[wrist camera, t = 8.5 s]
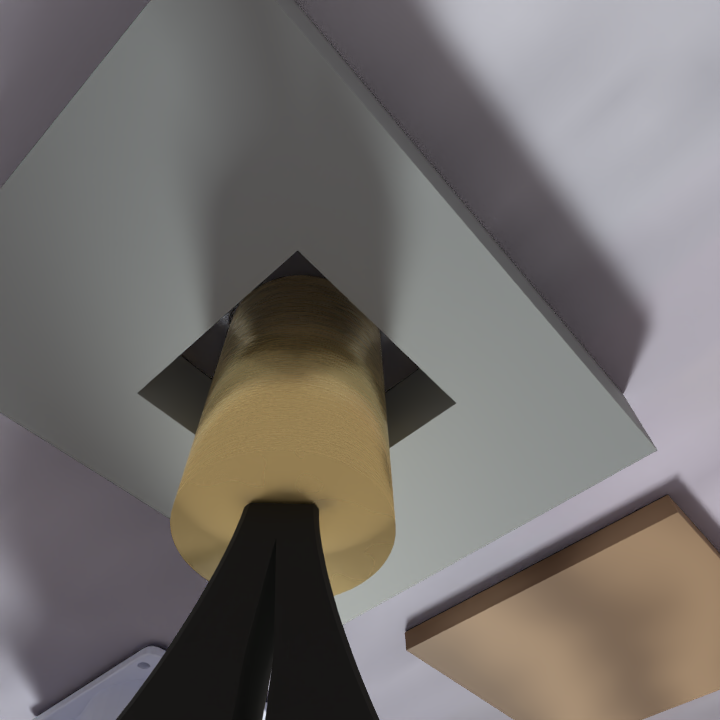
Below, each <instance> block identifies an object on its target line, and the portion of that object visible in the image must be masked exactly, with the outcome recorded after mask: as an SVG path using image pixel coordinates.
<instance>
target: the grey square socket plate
mask: <svg viewBox="0 0 720 720" xmlns="http://www.w3.org/2000/svg"><path fill="white" fill-rule="evenodd" d="M297 250H298V251H299V252H300V253H301V254H302V255H303V256H304V257H305V258H306V259H307V260H308V261H309V262H310V263H311V264H312V265H313V266H314V267H315V268H317V269H318V270H319V271H320V272H321V273H322V274H323V275H324V276H325V277H326V278H327V279H328V280H329V281H330V282H331V283H332V284H333V285H334V286H335V287H336V288H337V289H338V290H339V291H340V292H341V293H342V294H344V295H345V296H346V297H347V298H348V299H349V300H350V301H351V302H352V303H353V304H354V305H355V306H356V307H357V308H358V309H359V310H360V311H361V312H362V313H363V314H364V315H365V316H366V317H367V318H368V319H369V320H371V321H372V322H373V323H374V324H375V325H376V326H377V327H378V328H379V329H380V330H381V331H382V332H383V333H384V334H385V335H386V336H387V337H388V338H389V339H390V340H391V341H392V342H393V343H394V344H395V345H396V346H398V347H399V348H400V349H401V350H402V351H403V352H404V353H405V354H406V355H407V356H408V357H409V358H410V359H411V360H412V361H413V362H414V363H415V364H416V365H417V366H418V367H419V368H420V369H418V370H417V371H416V372H414V373H413V374H411V375H410V376H409V377H407V378H406V379H404V380H403V381H402V382H400V383H399V384H397V385H396V386H395V387H393V388H392V389H391V390H389V391H388V392H386V393H385V400H386V413H387V425H388V437H389V450H390V462H391V474H392V487H393V499H394V511H395V524H396V536H395V541H394V545H393V548H392V551H391V553H390V555H389V557H388V558H387V560H386V562H385V563H384V564H383V565H382V567H381V568H380V569H379V570H378V571H377V572H376V573H375V574H374V575H373V576H371V577H370V578H369V579H368V580H366V581H365V582H363V583H362V584H360V585H358V586H356V587H354V588H353V589H351V590H348V591H346V592H343V593H341V594H338V595H335V596H334V598H335V602H336V606H337V609H338V612H339V616H340V619H341V622H342V625H344V624H345V623H347V622H349V621H351V620H353V619H354V618H356V617H358V616H360V615H362V614H363V613H365V612H367V611H369V610H371V609H372V608H374V607H376V606H378V605H380V604H381V603H383V602H385V601H387V600H389V599H390V598H392V597H394V596H396V595H398V594H399V593H401V592H403V591H405V590H407V589H408V588H410V587H412V586H414V585H416V584H417V583H419V582H421V581H423V580H425V579H426V578H428V577H430V576H432V575H434V574H435V573H437V572H439V571H441V570H443V569H444V568H446V567H448V566H450V565H452V564H453V563H455V562H457V561H459V560H461V559H462V558H464V557H466V556H468V555H470V554H471V553H473V552H475V551H477V550H479V549H480V548H482V547H484V546H486V545H488V544H489V543H491V542H493V541H495V540H497V539H498V538H500V537H502V536H504V535H506V534H507V533H509V532H511V531H513V530H515V529H516V528H518V527H520V526H522V525H524V524H525V523H527V522H529V521H531V520H533V519H534V518H536V517H538V516H540V515H542V514H543V513H545V512H547V511H549V510H551V509H552V508H554V507H556V506H558V505H560V504H561V503H563V502H565V501H567V500H569V499H570V498H572V497H574V496H576V495H578V494H579V493H581V492H583V491H585V490H587V489H588V488H590V487H592V486H594V485H596V484H597V483H599V482H601V481H603V480H605V479H606V478H608V477H610V476H612V475H614V474H615V473H617V472H619V471H621V470H623V469H624V468H626V467H628V466H630V465H632V464H633V463H635V462H637V461H639V460H641V459H642V458H644V457H646V456H648V455H650V454H651V453H653V452H655V451H657V449H656V447H655V446H654V444H653V442H652V441H651V439H650V437H649V436H648V434H647V433H646V431H645V429H644V428H643V426H642V424H641V423H640V421H639V420H638V418H637V416H636V415H635V413H634V411H633V410H632V408H631V407H630V405H629V403H628V402H627V400H626V398H625V397H624V395H623V394H622V393H621V392H620V391H619V389H618V388H617V387H616V386H615V385H614V383H613V382H612V381H611V380H610V379H609V377H608V376H607V375H606V374H605V373H604V371H603V370H602V369H601V368H600V367H599V365H598V364H597V363H596V362H595V361H594V359H593V358H592V357H591V356H590V355H589V353H588V352H587V351H586V350H585V349H584V347H583V346H582V345H581V344H580V343H579V341H578V340H577V339H576V338H575V337H574V335H573V334H572V333H571V332H570V331H569V329H568V328H567V327H566V326H565V325H564V323H563V322H562V321H561V320H560V319H559V317H558V316H557V315H556V314H555V313H554V311H553V310H552V309H551V308H550V307H549V305H548V304H547V303H546V302H545V301H544V299H543V298H542V297H541V296H540V295H539V293H538V292H537V291H536V290H535V289H534V287H533V286H532V285H531V284H530V283H529V281H528V280H527V279H526V278H525V277H524V275H523V274H522V273H521V272H520V271H519V269H518V268H517V267H516V266H515V265H514V263H513V262H512V261H511V260H510V259H509V257H508V256H507V255H506V254H505V253H504V251H503V250H502V249H501V248H500V247H499V245H498V244H497V243H496V242H495V241H494V239H493V238H492V237H491V236H490V235H489V233H488V232H487V231H486V230H485V229H484V227H483V226H482V225H481V224H480V223H479V221H478V220H477V219H476V218H475V217H474V215H473V214H472V213H471V212H470V211H469V209H468V208H467V207H466V206H465V205H464V203H463V202H462V201H461V200H460V199H459V197H458V196H457V195H456V194H455V193H454V191H453V190H452V189H451V188H450V187H449V185H448V184H447V183H446V182H445V181H444V180H443V178H442V177H441V176H440V175H439V174H438V172H437V171H436V170H435V169H434V168H433V166H432V165H431V164H430V163H429V162H428V160H427V159H426V158H425V157H424V156H423V154H422V153H421V152H420V151H419V150H418V148H417V147H416V146H415V145H414V144H413V142H412V141H411V140H410V139H409V138H408V136H407V135H406V134H405V133H404V132H403V130H402V129H401V128H400V127H399V126H398V124H397V123H396V122H395V121H394V120H393V118H392V117H391V116H390V115H389V114H388V112H387V111H386V110H385V109H384V108H383V106H382V105H381V104H380V103H379V102H378V100H377V99H376V98H375V97H374V96H373V94H372V93H371V92H370V91H369V90H368V88H367V87H366V86H365V85H364V84H363V82H362V81H361V80H360V79H359V78H358V76H357V75H356V74H355V73H354V72H353V70H352V69H351V68H350V67H349V66H348V64H347V63H346V62H345V61H344V60H343V58H342V57H341V56H340V55H339V54H338V52H337V51H336V50H335V49H334V48H333V46H332V45H331V44H330V43H329V42H328V40H327V39H326V38H325V37H324V36H323V34H322V33H321V32H320V31H319V30H318V28H317V27H316V26H315V25H314V24H313V22H312V21H311V20H310V19H309V18H308V16H307V15H306V14H305V13H304V12H303V10H302V9H301V8H300V7H299V6H298V4H297V3H296V2H295V1H294V0H150V1H149V3H148V4H147V5H146V6H145V8H144V9H143V10H142V11H141V13H140V14H139V15H138V16H137V18H136V19H135V20H134V21H133V23H132V24H131V25H130V26H129V28H128V29H127V30H126V31H125V33H124V34H123V35H122V36H121V38H120V39H119V40H118V41H117V43H116V44H115V45H114V47H113V48H112V49H111V50H110V52H109V53H108V54H107V55H106V57H105V58H104V59H103V60H102V62H101V63H100V64H99V65H98V67H97V68H96V69H95V70H94V72H93V73H92V74H91V75H90V77H89V78H88V79H87V80H86V82H85V83H84V84H83V85H82V87H81V88H80V89H79V90H78V92H77V93H76V94H75V95H74V97H73V98H72V99H71V100H70V102H69V103H68V104H67V106H66V107H65V108H64V109H63V111H62V112H61V113H60V114H59V116H58V117H57V118H56V119H55V121H54V122H53V123H52V124H51V126H50V127H49V128H48V129H47V131H46V132H45V133H44V134H43V136H42V137H41V138H40V139H39V141H38V142H37V143H36V144H35V146H34V147H33V148H32V149H31V151H30V152H29V153H28V154H27V156H26V157H25V158H24V159H23V161H22V162H21V163H20V165H19V166H18V167H17V168H16V170H15V171H14V172H13V173H12V175H11V176H10V177H9V178H8V180H7V181H6V182H5V183H4V185H3V186H2V187H1V188H0V413H2V414H3V415H5V416H6V417H8V418H9V419H11V420H13V421H14V422H16V423H17V424H19V425H21V426H22V427H24V428H25V429H27V430H29V431H30V432H32V433H33V434H35V435H37V436H38V437H40V438H41V439H43V440H45V441H46V442H48V443H49V444H51V445H53V446H54V447H56V448H57V449H59V450H61V451H62V452H64V453H65V454H67V455H68V456H70V457H72V458H73V459H75V460H76V461H78V462H80V463H81V464H83V465H84V466H86V467H88V468H89V469H91V470H92V471H94V472H96V473H97V474H99V475H100V476H102V477H104V478H105V479H107V480H108V481H110V482H112V483H113V484H115V485H116V486H118V487H120V488H121V489H123V490H124V491H126V492H127V493H129V494H131V495H132V496H134V497H135V498H137V499H139V500H140V501H142V502H143V503H145V504H147V505H148V506H150V507H151V508H153V509H155V510H156V511H158V512H159V513H161V514H163V515H164V516H166V517H167V518H169V519H170V518H171V511H172V508H173V504H174V501H175V498H176V495H177V491H178V488H179V485H180V482H181V479H182V475H183V472H184V469H185V466H186V463H187V460H188V456H189V453H190V450H191V447H192V444H193V441H194V437H195V434H196V431H197V428H198V425H199V422H200V418H201V415H202V412H203V409H204V406H205V402H206V399H207V396H208V393H209V390H210V387H211V383H212V380H211V379H210V378H209V377H207V376H206V375H205V374H204V373H202V372H201V371H200V370H198V369H197V368H196V367H194V366H193V365H192V364H191V363H189V362H188V361H187V360H185V359H184V358H183V357H182V356H180V355H181V354H182V353H183V352H184V351H185V350H186V349H187V348H188V347H190V346H191V345H192V344H193V343H194V342H195V341H196V340H197V339H199V338H200V337H201V336H202V335H203V334H204V333H205V332H206V331H208V330H209V329H210V328H211V327H212V326H213V325H214V324H215V323H217V322H218V321H219V320H220V319H221V318H222V317H223V316H224V315H225V314H227V313H228V312H229V311H230V310H231V309H232V308H233V307H234V306H236V305H237V304H238V303H239V302H240V301H241V300H242V299H243V298H245V297H246V296H247V295H248V294H249V293H250V292H251V291H252V290H254V289H255V288H256V287H257V286H258V285H259V284H260V283H261V282H263V281H264V280H265V279H266V278H267V277H268V276H269V275H270V274H272V273H273V272H274V271H275V270H276V269H277V268H278V267H279V266H281V265H282V264H283V263H284V262H285V261H286V260H287V259H288V258H290V257H291V256H292V255H293V254H294V253H295V252H296V251H297Z"/></svg>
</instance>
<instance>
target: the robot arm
mask: <svg viewBox="0 0 720 720" xmlns="http://www.w3.org/2000/svg"><path fill="white" fill-rule="evenodd" d="M271 669H272V670H271ZM270 675H271V678H270ZM269 680H270V686H269ZM268 686H269V694H268V701H267V702H266V697H267V691H268ZM33 720H379V718H378V715H377V713H376V711H375V709H374V706H373V704H372V702H371V699H370V697H369V695H368V692H367V690H366V687H365V685H364V683H363V680H362V678H361V675H360V672H359V670H358V667H357V665H356V662H355V659H354V657H353V654H352V651H351V648H350V645H349V643H348V640H347V637H346V634H345V631H344V628H343V625H342V622H341V619H340V616H339V612H338V609H337V606H336V602H335V598H334V595H333V591H332V588H331V584H330V581H329V576H328V572H327V568H326V563H325V558H324V553H323V548H322V542H321V535H320V525H319V508H318V507H317V506H315V505H314V504H287V503H249V504H247V505H246V506H245V507H244V509H243V512H242V515H241V517H240V520H239V522H238V525H237V527H236V529H235V532H234V534H233V536H232V538H231V540H230V542H229V545H228V547H227V549H226V551H225V553H224V555H223V556H222V558H221V560H220V562H219V564H218V566H217V568H216V570H215V572H214V573H213V575H212V577H211V579H210V581H209V582H208V584H207V586H206V588H205V590H204V591H203V593H202V595H201V597H200V598H199V600H198V602H197V603H196V605H195V607H194V608H193V610H192V612H191V613H190V615H189V616H188V618H187V619H186V621H185V623H184V624H183V626H182V627H181V629H180V631H179V632H178V634H177V635H176V637H175V638H174V640H173V642H172V643H171V645H170V646H169V648H168V649H167V651H165V650H163V649H161V648H159V647H155V646H148V647H146V648H143V649H142V650H140V651H139V652H137V653H136V654H134V655H133V656H131V657H129V658H128V659H126V660H125V661H123V662H122V663H120V664H118V665H117V666H115V667H114V668H112V669H111V670H109V671H108V672H106V673H104V674H103V675H101V676H100V677H98V678H97V679H95V680H93V681H92V682H90V683H89V684H87V685H86V686H84V687H82V688H81V689H79V690H78V691H76V692H75V693H73V694H72V695H70V696H68V697H67V698H65V699H64V700H62V701H61V702H59V703H57V704H56V705H54V706H53V707H51V708H50V709H48V710H47V711H45V712H43V713H42V714H40V715H39V716H37V717H36V718H34V719H33Z"/></svg>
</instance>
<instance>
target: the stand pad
mask: <svg viewBox="0 0 720 720" xmlns="http://www.w3.org/2000/svg"><path fill="white" fill-rule="evenodd" d="M405 639H406V650H407V651H408V652H410V653H411V654H413V655H415V656H416V657H418V658H419V659H421V660H422V661H424V662H425V663H427V664H428V665H430V666H432V667H433V668H435V669H436V670H438V671H439V672H441V673H442V674H444V675H446V676H447V677H449V678H450V679H452V680H453V681H455V682H456V683H458V684H459V685H461V686H463V687H464V688H466V689H467V690H469V691H470V692H472V693H473V694H475V695H476V696H478V697H480V698H481V699H483V700H484V701H486V702H487V703H489V704H490V705H492V706H494V707H495V708H497V709H498V710H500V711H501V712H503V713H504V714H506V715H507V716H509V717H511V718H512V719H514V720H642V719H645V718H647V717H650V716H653V715H655V714H658V713H660V712H663V711H666V710H668V709H671V708H673V707H676V706H678V705H681V704H684V703H686V702H689V701H691V700H694V699H697V698H699V697H702V696H704V695H707V694H710V693H712V692H715V691H717V690H720V553H719V552H718V551H717V550H716V548H715V547H714V546H713V545H712V544H711V543H710V542H709V541H708V539H707V538H706V537H705V536H704V535H703V534H702V533H701V532H700V530H699V529H698V528H697V527H696V526H695V525H694V524H693V522H692V521H691V520H690V519H689V518H688V517H687V516H686V515H685V513H684V512H683V511H682V510H681V509H680V508H679V507H678V506H677V504H676V503H675V502H674V501H673V500H672V499H671V498H670V496H669V495H666V496H664V497H663V498H661V499H659V500H657V501H655V502H653V503H651V504H649V505H647V506H645V507H643V508H642V509H640V510H638V511H636V512H634V513H632V514H630V515H628V516H626V517H624V518H622V519H620V520H619V521H617V522H615V523H613V524H611V525H609V526H607V527H605V528H603V529H601V530H599V531H598V532H596V533H594V534H592V535H590V536H588V537H586V538H584V539H582V540H580V541H578V542H577V543H575V544H573V545H571V546H569V547H567V548H565V549H563V550H561V551H559V552H557V553H555V554H554V555H552V556H550V557H548V558H546V559H544V560H542V561H540V562H538V563H536V564H534V565H533V566H531V567H529V568H527V569H525V570H523V571H521V572H519V573H517V574H515V575H513V576H512V577H510V578H508V579H506V580H504V581H502V582H500V583H498V584H496V585H494V586H492V587H490V588H489V589H487V590H485V591H483V592H481V593H479V594H477V595H475V596H473V597H471V598H469V599H468V600H466V601H464V602H462V603H460V604H458V605H456V606H454V607H452V608H450V609H448V610H447V611H445V612H443V613H441V614H439V615H437V616H435V617H433V618H431V619H429V620H427V621H426V622H424V623H422V624H420V625H418V626H416V627H414V628H412V629H410V630H408V631H406V632H405Z"/></svg>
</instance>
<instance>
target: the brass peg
mask: <svg viewBox="0 0 720 720" xmlns="http://www.w3.org/2000/svg"><path fill="white" fill-rule="evenodd" d="M249 503H287V504H314V505H315V506H317V507H318V508H319V525H320V535H321V542H322V548H323V553H324V558H325V563H326V568H327V572H328V576H329V581H330V584H331V588H332V591H333V595H334V596H335V595H338V594H341V593H343V592H346V591H348V590H351V589H353V588H354V587H356V586H358V585H360V584H362V583H363V582H365V581H366V580H368V579H369V578H370V577H371V576H373V575H374V574H375V573H376V572H377V571H378V570H379V569H380V568H381V567H382V565H383V564H384V563H385V562H386V560H387V558H388V557H389V555H390V553H391V551H392V548H393V545H394V541H395V536H396V524H395V511H394V499H393V487H392V474H391V462H390V450H389V437H388V425H387V413H386V400H385V388H384V376H383V363H382V351H381V339H380V332H379V328H378V327H377V326H376V325H375V324H374V323H373V322H372V321H371V320H369V319H368V318H367V317H366V316H365V315H364V314H363V313H362V312H361V311H360V310H359V309H358V308H357V307H356V306H355V305H354V304H353V303H352V302H351V301H350V300H349V299H348V298H347V297H346V296H345V295H344V294H342V293H341V292H340V291H339V290H338V289H337V288H336V287H335V286H334V285H333V284H332V283H331V282H330V281H329V280H328V279H326V278H322V277H317V276H309V275H293V276H287V277H281V278H278V279H274V280H271V281H269V282H267V283H265V284H263V285H261V286H259V287H258V288H256V289H254V290H253V291H252V292H251V293H250V294H248V295H247V296H246V297H245V298H244V299H243V301H242V302H241V303H240V304H239V306H238V307H237V309H236V311H235V313H234V315H233V317H232V320H231V323H230V326H229V329H228V333H227V336H226V339H225V342H224V345H223V349H222V352H221V355H220V358H219V361H218V364H217V368H216V371H215V374H214V377H213V380H212V383H211V387H210V390H209V393H208V396H207V399H206V402H205V406H204V409H203V412H202V415H201V418H200V422H199V425H198V428H197V431H196V434H195V437H194V441H193V444H192V447H191V450H190V453H189V456H188V460H187V463H186V466H185V469H184V472H183V475H182V479H181V482H180V485H179V488H178V491H177V495H176V498H175V501H174V504H173V508H172V511H171V518H170V527H171V534H172V538H173V541H174V544H175V546H176V548H177V549H178V551H179V553H180V555H181V556H182V557H183V559H184V560H185V561H186V562H187V563H188V564H189V566H190V567H191V568H192V569H193V570H195V571H196V572H197V573H198V574H200V575H201V576H202V577H203V578H205V579H207V580H208V581H210V579H211V577H212V575H213V573H214V572H215V570H216V568H217V566H218V564H219V562H220V560H221V558H222V556H223V555H224V553H225V551H226V549H227V547H228V545H229V542H230V540H231V538H232V536H233V534H234V532H235V529H236V527H237V525H238V522H239V520H240V517H241V515H242V512H243V509H244V507H245V506H246V505H247V504H249Z"/></svg>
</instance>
